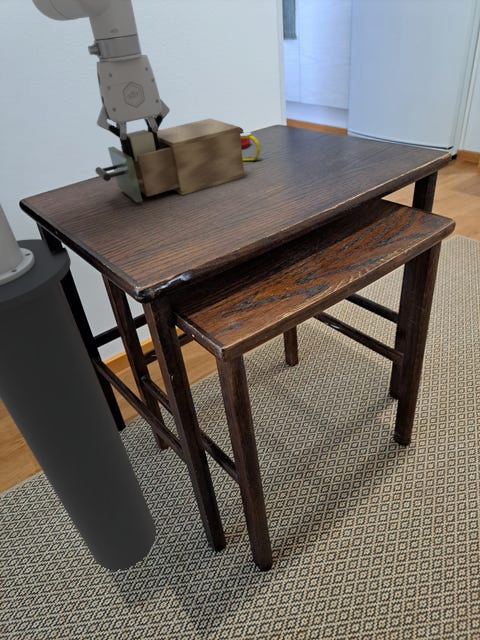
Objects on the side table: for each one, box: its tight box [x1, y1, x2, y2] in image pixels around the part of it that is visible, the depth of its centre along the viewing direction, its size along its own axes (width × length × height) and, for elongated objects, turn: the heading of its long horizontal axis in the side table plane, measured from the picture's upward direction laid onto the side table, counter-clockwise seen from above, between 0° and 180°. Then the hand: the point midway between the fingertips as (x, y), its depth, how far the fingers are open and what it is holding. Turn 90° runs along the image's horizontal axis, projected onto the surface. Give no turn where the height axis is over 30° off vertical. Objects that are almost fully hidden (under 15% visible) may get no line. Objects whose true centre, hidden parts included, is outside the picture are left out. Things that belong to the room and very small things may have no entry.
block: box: [127, 129, 156, 161], centre depth 88 cm, size 4×4×4 cm
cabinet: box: [157, 118, 245, 196], centre depth 95 cm, size 15×13×10 cm
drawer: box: [94, 141, 179, 203], centre depth 90 cm, size 18×12×8 cm
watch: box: [240, 132, 261, 162], centre depth 103 cm, size 6×3×6 cm, turn 64°
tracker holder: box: [231, 124, 251, 149], centre depth 117 cm, size 12×4×10 cm
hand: (142, 154), depth 89 cm, fingers closed on block, 4 cm apart
